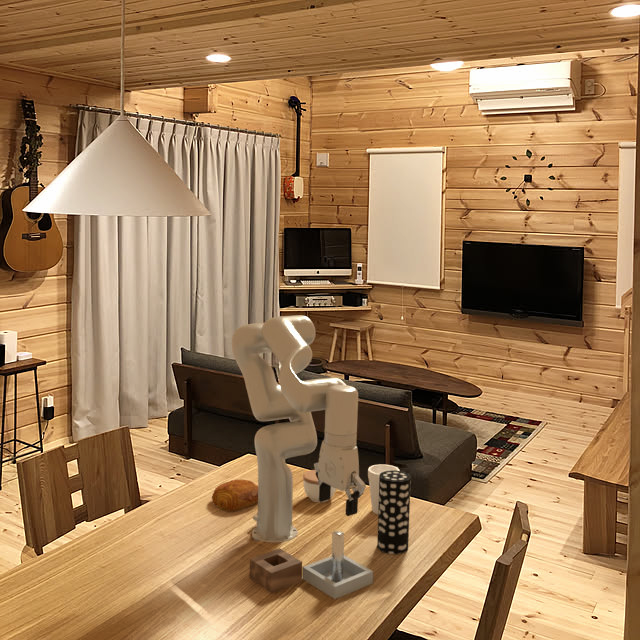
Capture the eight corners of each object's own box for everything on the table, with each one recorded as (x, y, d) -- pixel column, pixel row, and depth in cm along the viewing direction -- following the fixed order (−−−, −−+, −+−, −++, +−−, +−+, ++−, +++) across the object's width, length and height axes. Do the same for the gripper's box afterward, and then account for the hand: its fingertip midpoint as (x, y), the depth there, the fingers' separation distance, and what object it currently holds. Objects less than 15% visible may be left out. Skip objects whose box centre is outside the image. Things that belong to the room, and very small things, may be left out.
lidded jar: (299, 493, 229) (300, 465, 228) (331, 491, 232) (332, 463, 231) (306, 506, 219) (307, 477, 218) (340, 504, 222) (341, 474, 220)
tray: (302, 582, 173) (302, 566, 173) (339, 567, 181) (340, 552, 180) (334, 603, 164) (335, 586, 163) (372, 586, 172) (373, 571, 171)
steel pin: (328, 580, 172) (329, 532, 171) (337, 576, 174) (338, 529, 173) (336, 584, 170) (337, 536, 169) (345, 581, 172) (346, 533, 170)
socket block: (249, 582, 173) (249, 558, 172) (279, 571, 179) (279, 548, 178) (271, 597, 166) (271, 573, 165) (301, 585, 172) (302, 561, 171)
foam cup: (377, 519, 211) (378, 477, 209) (361, 508, 219) (362, 467, 217) (404, 513, 215) (405, 472, 213) (387, 502, 223) (388, 462, 221)
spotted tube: (406, 555, 188) (409, 482, 185) (375, 552, 190) (377, 480, 187) (409, 542, 196) (411, 472, 193) (379, 538, 198) (381, 469, 195)
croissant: (269, 509, 222) (272, 483, 222) (231, 516, 211) (234, 490, 210) (238, 495, 232) (241, 471, 232) (200, 502, 220) (203, 476, 220)
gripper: (304, 431, 172) (302, 498, 174) (353, 451, 159) (350, 524, 161) (328, 426, 176) (326, 491, 179) (377, 445, 163) (374, 516, 166)
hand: (337, 507), depth 170 cm, fingers open, 9 cm apart
